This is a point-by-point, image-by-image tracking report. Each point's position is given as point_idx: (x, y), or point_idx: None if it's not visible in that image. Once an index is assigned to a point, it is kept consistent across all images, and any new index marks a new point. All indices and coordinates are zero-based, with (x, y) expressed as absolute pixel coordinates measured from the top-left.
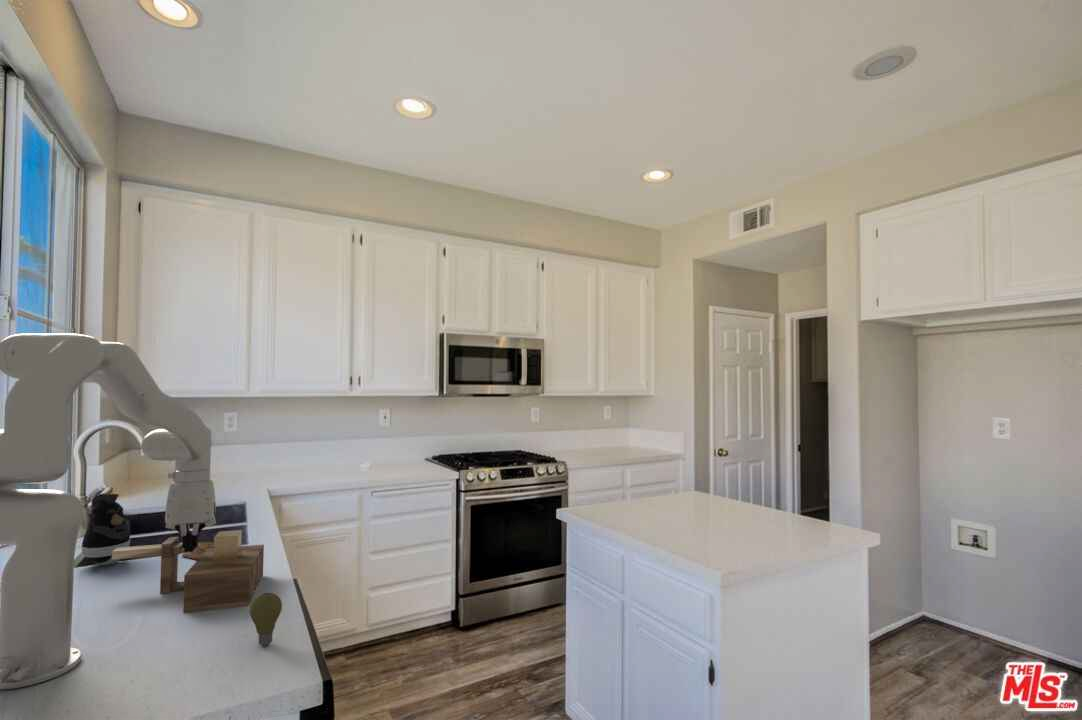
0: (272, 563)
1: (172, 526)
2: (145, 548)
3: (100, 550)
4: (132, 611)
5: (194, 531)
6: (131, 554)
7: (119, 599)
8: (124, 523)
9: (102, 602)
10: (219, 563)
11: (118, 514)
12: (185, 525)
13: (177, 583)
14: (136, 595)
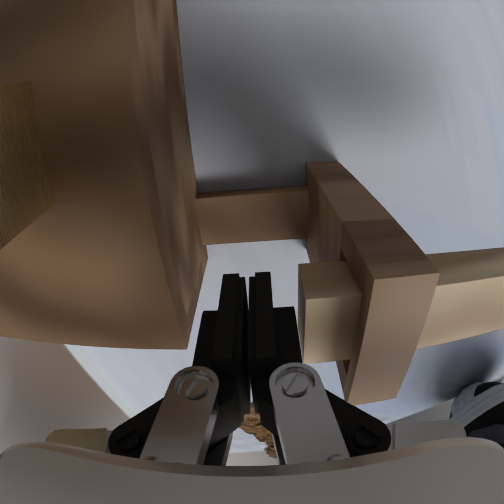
0: (88, 355)
1: (411, 443)
2: (493, 283)
3: (500, 396)
4: (369, 5)
5: (197, 400)
6: None
7: (448, 147)
8: None
9: (480, 138)
10: (1, 68)
11: None
12: (286, 460)
13: (296, 221)
14: (411, 169)
